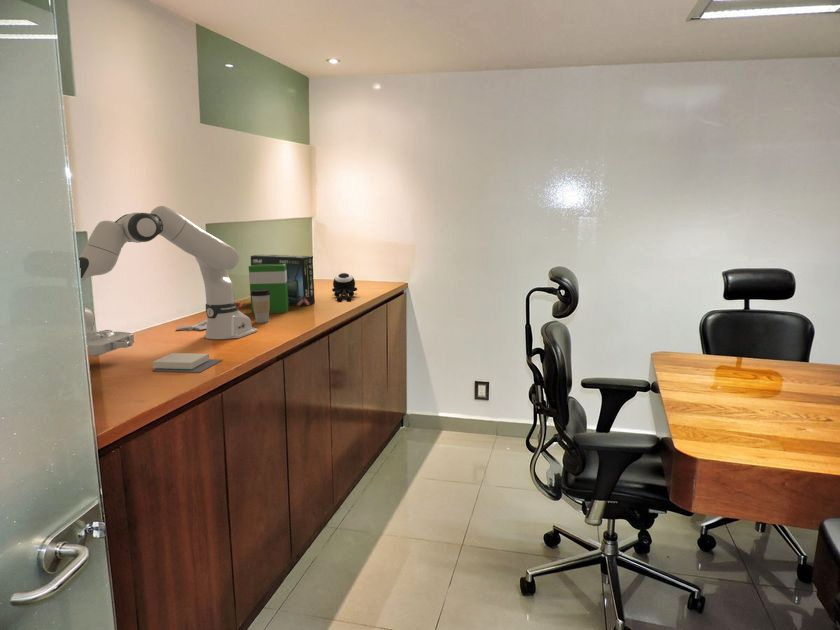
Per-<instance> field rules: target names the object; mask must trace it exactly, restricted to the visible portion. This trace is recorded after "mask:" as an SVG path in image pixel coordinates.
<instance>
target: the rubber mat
mask: <svg viewBox="0 0 840 630" xmlns="http://www.w3.org/2000/svg"><path fill="white" fill-rule="evenodd" d="M221 362H223V359H215V358H214V359H213V358H211V359H210V358H209V360H208V361H207V362H205V363H203V364H201V365H199V366H197V367H195V368H193V369H156V368H154V369H153V370H152V372H158V373H159V372H161V373H162V372H163V373H187V374H188V373H189V374H190V373H192V374H193V373H194V374H200V373H203V372H204V371H206V370H208V369H210V368H212V367H213V366H215V365H217V364H218V363H221Z"/></svg>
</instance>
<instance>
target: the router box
mask: <svg viewBox="0 0 840 630" xmlns="http://www.w3.org/2000/svg"><path fill="white" fill-rule="evenodd" d="M313 258H314V255H293V254H292V255H290V254H287V255H286V254H266V253H265V254H254V255H250V266H251V265H264V264H286V270H287V287H288V305H289V306H295V307H296V306H297V307H305V306H306V307H307V306H310V305H312V304H315V303H316V299H315V282H314V265H313V264H314V261H313Z"/></svg>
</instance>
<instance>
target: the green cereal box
mask: <svg viewBox="0 0 840 630" xmlns="http://www.w3.org/2000/svg"><path fill="white" fill-rule="evenodd" d="M248 277H249V291H250V293H252V290H257V289H268V290H269V292H271V294H270V299H269V300H270V308H269V314H272V313H274V314H275V313H288V311H289V310H290V309H289V306H290V305H288V287H287V270H286V264H264V265H251V264H250V265H248ZM250 293H249V294H250ZM250 309H251V310H250V311H251V314H255V313H254V309H253V303H252V296H251V295H250Z"/></svg>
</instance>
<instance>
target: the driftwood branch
mask: <svg viewBox="0 0 840 630" xmlns="http://www.w3.org/2000/svg"><path fill="white" fill-rule="evenodd" d="M206 327H207V318H206V319H205V320H204V319H203V320H201V321H199V322H198V323H196V324H194V325H182V326H178V327H177V328H176V330H177V331H185V330H188V331H189V332H192V331H194V330H195V331H196V330H197V331H202V330H206Z"/></svg>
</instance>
